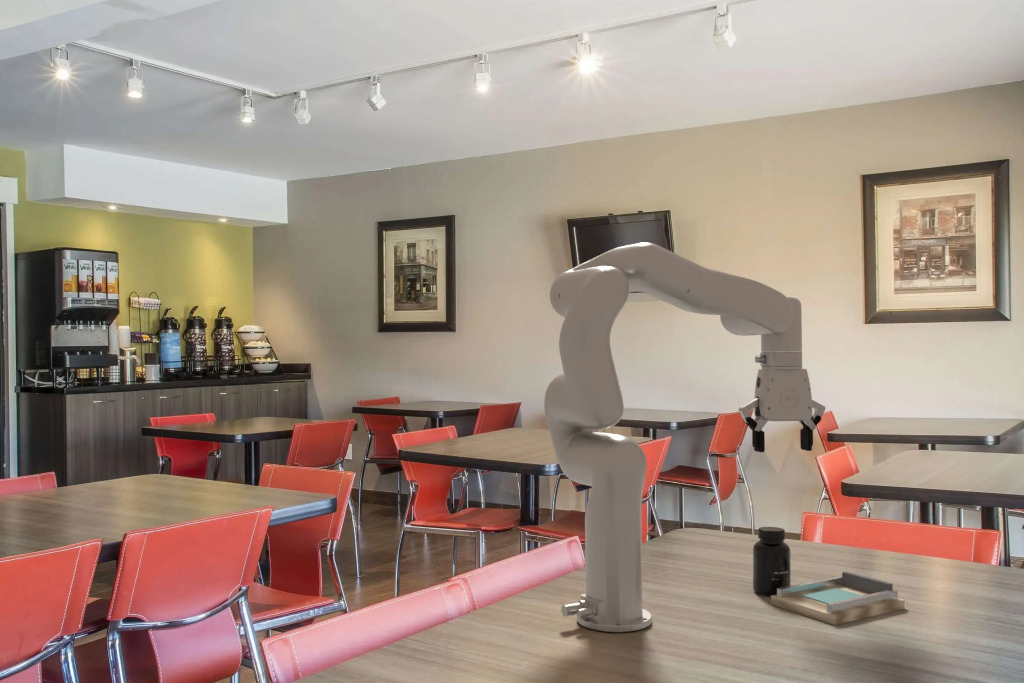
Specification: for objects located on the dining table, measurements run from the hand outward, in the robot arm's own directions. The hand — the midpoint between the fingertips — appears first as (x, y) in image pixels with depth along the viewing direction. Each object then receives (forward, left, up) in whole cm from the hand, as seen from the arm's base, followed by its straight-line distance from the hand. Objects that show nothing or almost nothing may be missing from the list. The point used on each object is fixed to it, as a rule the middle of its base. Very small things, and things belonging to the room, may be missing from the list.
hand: (782, 450), depth 166 cm
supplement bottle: (-4, 0, -27) cm, 27 cm away
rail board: (-1, -13, -26) cm, 29 cm away
